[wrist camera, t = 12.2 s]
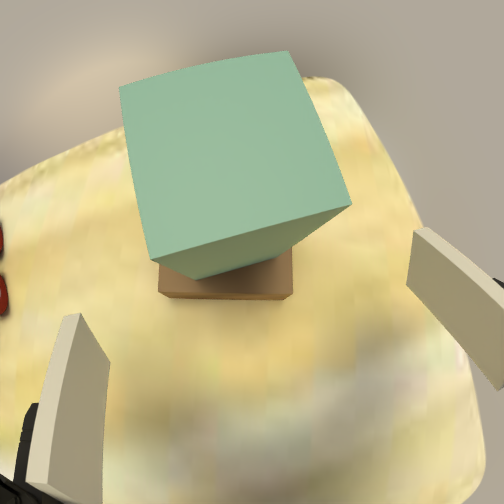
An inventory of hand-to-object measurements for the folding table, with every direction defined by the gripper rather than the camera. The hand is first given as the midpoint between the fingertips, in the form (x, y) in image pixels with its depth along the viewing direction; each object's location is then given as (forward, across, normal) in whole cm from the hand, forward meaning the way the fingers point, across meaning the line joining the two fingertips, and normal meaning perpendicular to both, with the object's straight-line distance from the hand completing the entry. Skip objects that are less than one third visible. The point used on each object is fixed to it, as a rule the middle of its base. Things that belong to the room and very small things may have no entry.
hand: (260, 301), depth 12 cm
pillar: (+9, 0, -1) cm, 9 cm away
